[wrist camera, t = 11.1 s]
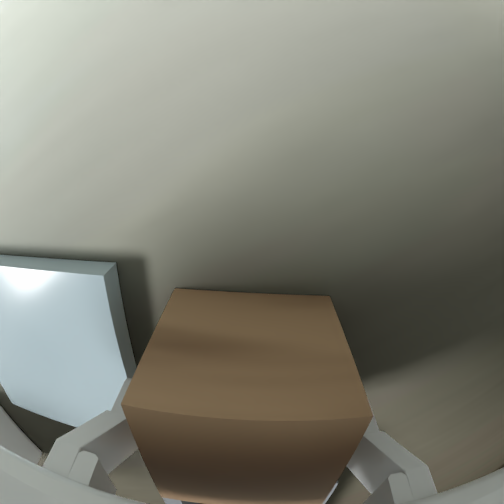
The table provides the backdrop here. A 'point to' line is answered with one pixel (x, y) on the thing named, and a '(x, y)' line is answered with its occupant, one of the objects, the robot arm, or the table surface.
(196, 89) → the table surface
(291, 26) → the table surface
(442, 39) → the table surface
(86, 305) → the tile
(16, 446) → the medicine bottle
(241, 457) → the block
